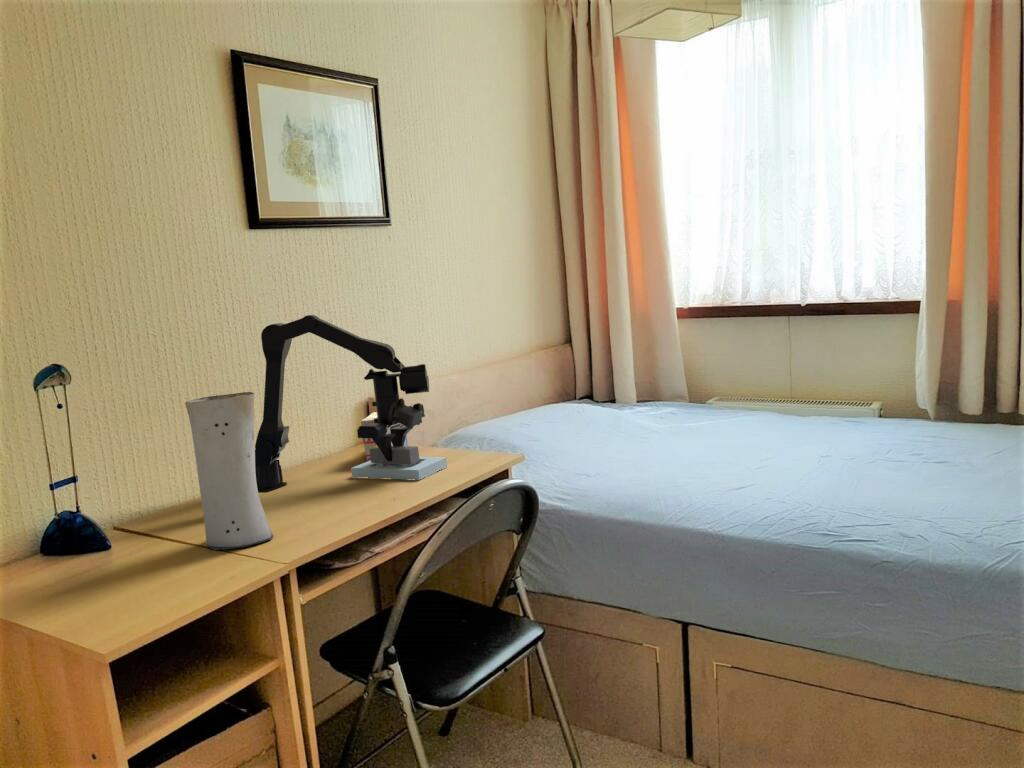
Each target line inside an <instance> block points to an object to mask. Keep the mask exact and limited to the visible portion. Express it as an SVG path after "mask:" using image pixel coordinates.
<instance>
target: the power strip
mask: <svg viewBox="0 0 1024 768" xmlns="http://www.w3.org/2000/svg"><path fill="white" fill-rule="evenodd" d="M369 450H370V458H371V463H376V464H377V466H383V467H384V466H386V465H388V463H390V464H403V467H413V466H415V462H417V461H420V460H419V457H420V454H419V446H416V445H411V446H409V445H408V446H392V461H387V460H386V458H385V457H384V455H383V453H382V452H381V450H380V449H379V447H378V446H376V447H373V448H371V449H369Z"/></svg>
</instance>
